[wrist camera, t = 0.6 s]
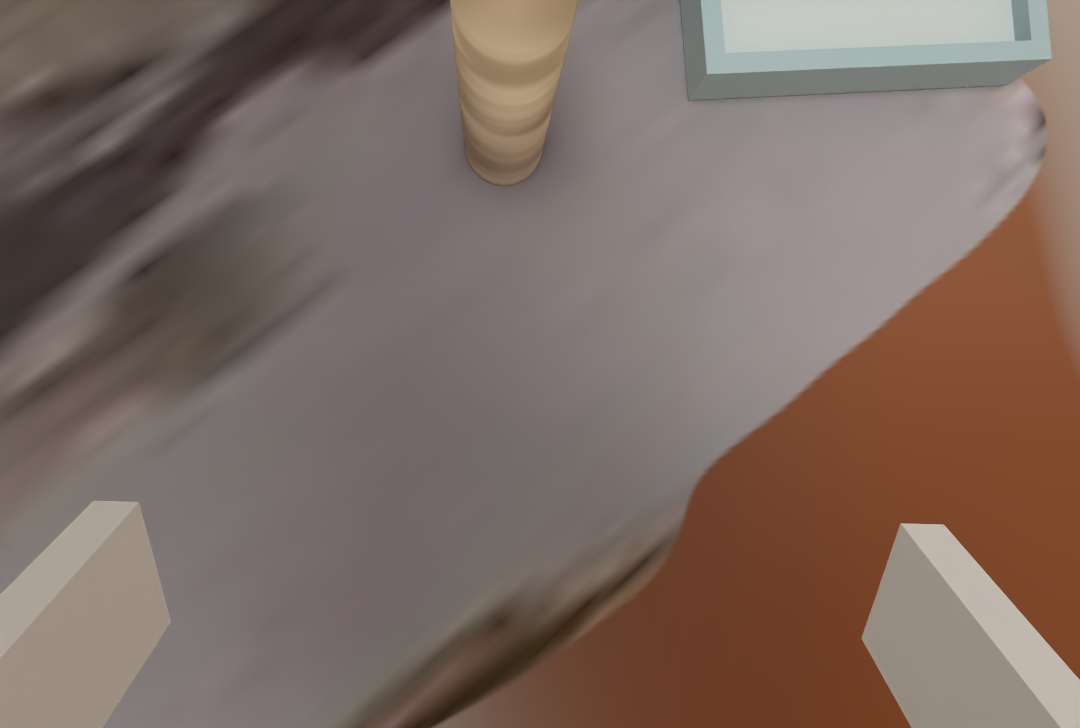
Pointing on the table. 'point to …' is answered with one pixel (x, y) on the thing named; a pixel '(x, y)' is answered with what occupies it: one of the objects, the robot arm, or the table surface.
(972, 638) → the robot arm
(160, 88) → the table surface
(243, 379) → the table surface
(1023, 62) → the tray
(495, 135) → the beech dowel
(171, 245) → the table surface
